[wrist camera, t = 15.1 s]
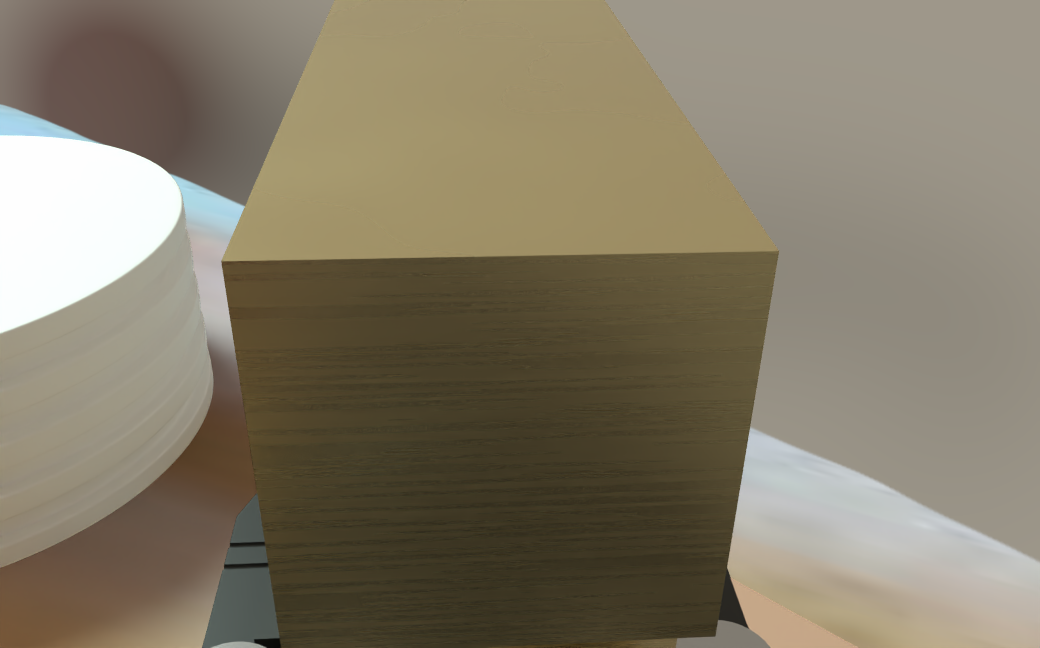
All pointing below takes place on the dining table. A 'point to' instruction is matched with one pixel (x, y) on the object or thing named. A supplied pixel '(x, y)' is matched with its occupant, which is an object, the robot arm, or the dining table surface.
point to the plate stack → (91, 336)
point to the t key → (494, 337)
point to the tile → (782, 623)
